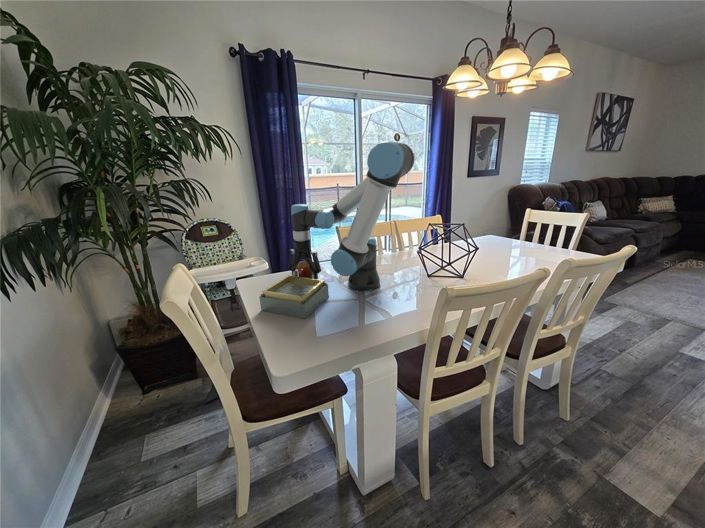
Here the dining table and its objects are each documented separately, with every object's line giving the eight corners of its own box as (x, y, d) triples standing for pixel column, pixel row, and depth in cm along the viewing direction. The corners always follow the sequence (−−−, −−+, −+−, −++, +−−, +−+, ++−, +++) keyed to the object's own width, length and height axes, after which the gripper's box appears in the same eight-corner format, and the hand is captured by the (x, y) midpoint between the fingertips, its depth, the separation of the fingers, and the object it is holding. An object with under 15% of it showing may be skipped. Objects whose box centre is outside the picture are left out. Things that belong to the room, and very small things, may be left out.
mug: (301, 280, 143) (300, 260, 140) (318, 281, 141) (317, 261, 138) (292, 289, 132) (290, 268, 129) (310, 291, 130) (308, 269, 127)
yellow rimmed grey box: (328, 298, 125) (327, 279, 122) (305, 321, 107) (303, 299, 104) (283, 291, 132) (281, 273, 130) (255, 311, 115) (252, 290, 112)
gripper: (327, 239, 129) (329, 284, 136) (286, 235, 137) (290, 279, 144) (319, 243, 122) (322, 291, 130) (276, 239, 130) (281, 284, 137)
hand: (305, 284), depth 137 cm, fingers open, 9 cm apart
